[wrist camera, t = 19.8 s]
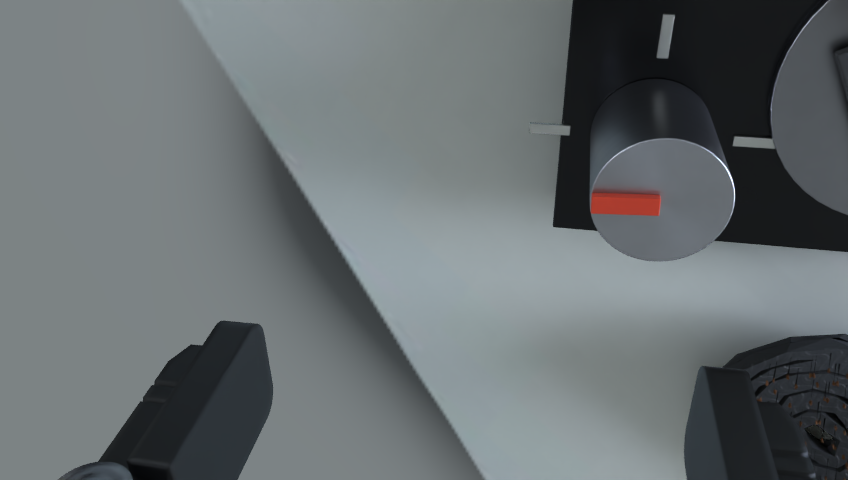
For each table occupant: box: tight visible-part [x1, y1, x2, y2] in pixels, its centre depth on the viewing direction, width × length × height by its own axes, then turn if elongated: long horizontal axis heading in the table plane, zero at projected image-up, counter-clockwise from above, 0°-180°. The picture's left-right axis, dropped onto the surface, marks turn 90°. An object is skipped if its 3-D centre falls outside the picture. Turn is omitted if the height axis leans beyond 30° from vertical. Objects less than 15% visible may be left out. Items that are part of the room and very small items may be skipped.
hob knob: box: [590, 79, 735, 261], centre depth 24 cm, size 4×4×5 cm
